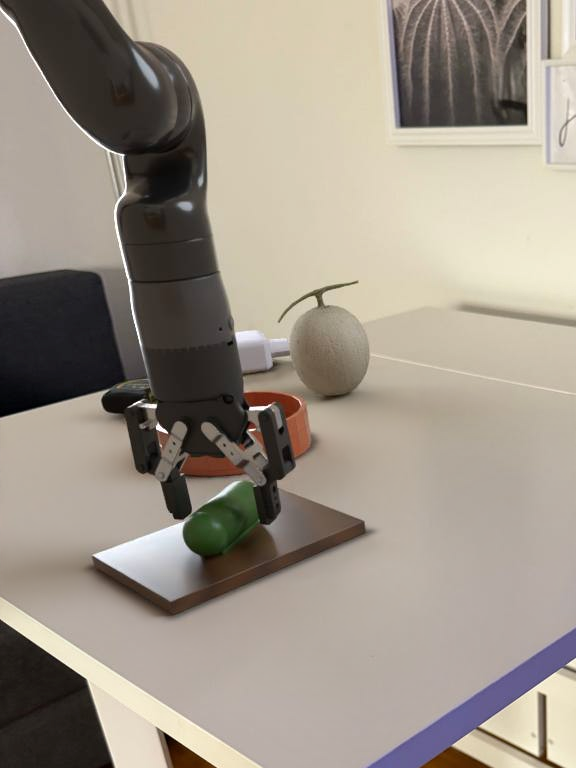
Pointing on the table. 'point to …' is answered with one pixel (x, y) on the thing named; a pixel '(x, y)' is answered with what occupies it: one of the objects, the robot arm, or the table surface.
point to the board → (237, 566)
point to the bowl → (296, 427)
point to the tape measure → (127, 395)
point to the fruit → (328, 346)
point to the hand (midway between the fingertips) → (226, 519)
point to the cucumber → (222, 520)
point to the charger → (259, 350)
